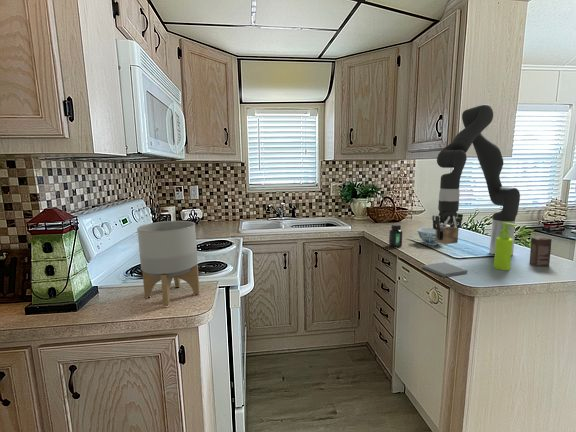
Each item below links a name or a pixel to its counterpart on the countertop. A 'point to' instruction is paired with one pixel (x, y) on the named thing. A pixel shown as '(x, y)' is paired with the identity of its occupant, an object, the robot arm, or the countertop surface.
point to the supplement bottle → (395, 236)
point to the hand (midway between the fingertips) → (446, 238)
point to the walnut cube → (448, 235)
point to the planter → (168, 256)
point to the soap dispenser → (503, 248)
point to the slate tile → (444, 269)
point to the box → (540, 251)
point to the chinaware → (428, 235)
